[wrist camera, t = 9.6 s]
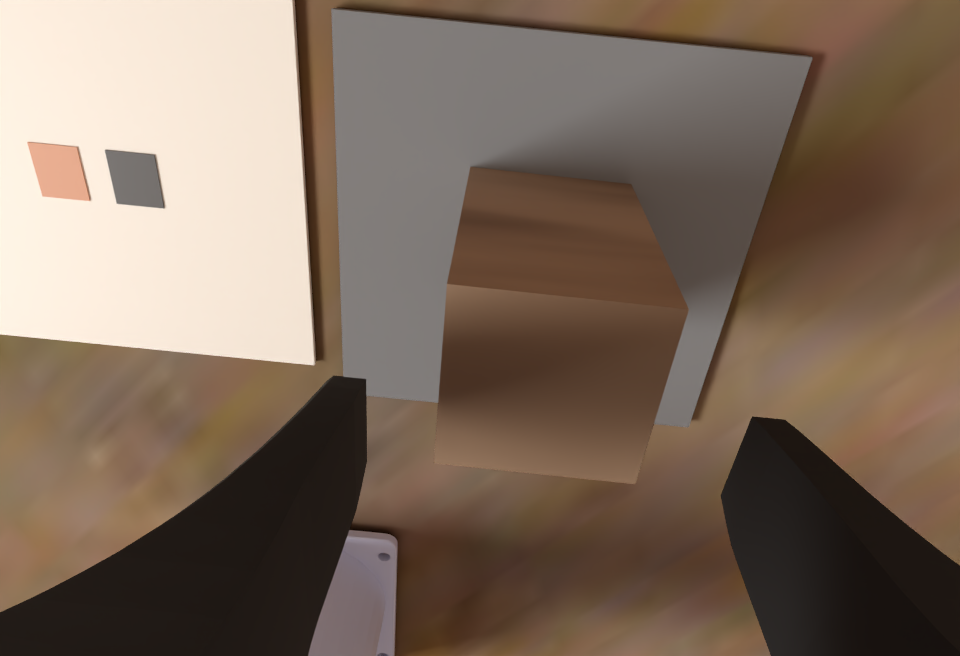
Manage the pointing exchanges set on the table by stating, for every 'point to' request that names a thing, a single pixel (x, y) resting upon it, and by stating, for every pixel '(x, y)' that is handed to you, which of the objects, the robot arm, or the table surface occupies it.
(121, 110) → the cream mat
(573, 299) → the walnut block
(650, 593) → the table surface
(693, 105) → the grey mat
